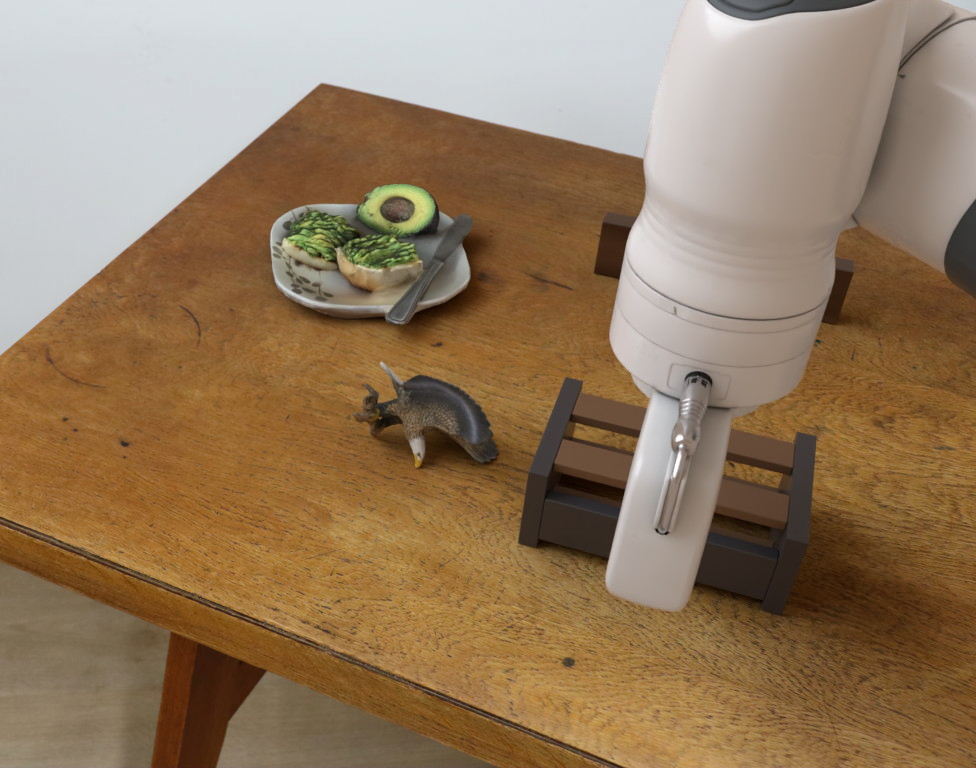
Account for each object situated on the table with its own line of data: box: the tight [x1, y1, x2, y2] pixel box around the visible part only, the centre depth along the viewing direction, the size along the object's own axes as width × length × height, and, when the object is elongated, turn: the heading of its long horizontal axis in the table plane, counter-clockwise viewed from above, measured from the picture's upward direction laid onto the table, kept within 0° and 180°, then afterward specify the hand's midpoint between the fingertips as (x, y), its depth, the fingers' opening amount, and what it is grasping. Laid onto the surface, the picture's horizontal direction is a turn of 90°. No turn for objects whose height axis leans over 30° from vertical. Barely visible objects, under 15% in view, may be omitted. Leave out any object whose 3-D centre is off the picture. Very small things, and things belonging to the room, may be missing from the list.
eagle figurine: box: [352, 361, 500, 469], centre depth 74 cm, size 8×7×9 cm
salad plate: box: [268, 183, 474, 327], centre depth 91 cm, size 19×18×5 cm
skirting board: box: [593, 211, 855, 325], centre depth 92 cm, size 2×20×5 cm, turn 71°
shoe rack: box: [517, 376, 818, 616], centre depth 69 cm, size 10×16×6 cm, turn 71°
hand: (655, 537), depth 58 cm, fingers closed
